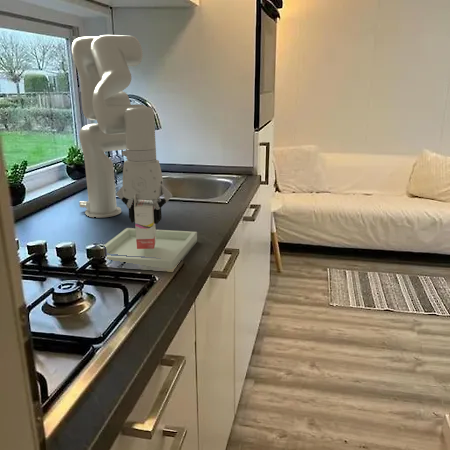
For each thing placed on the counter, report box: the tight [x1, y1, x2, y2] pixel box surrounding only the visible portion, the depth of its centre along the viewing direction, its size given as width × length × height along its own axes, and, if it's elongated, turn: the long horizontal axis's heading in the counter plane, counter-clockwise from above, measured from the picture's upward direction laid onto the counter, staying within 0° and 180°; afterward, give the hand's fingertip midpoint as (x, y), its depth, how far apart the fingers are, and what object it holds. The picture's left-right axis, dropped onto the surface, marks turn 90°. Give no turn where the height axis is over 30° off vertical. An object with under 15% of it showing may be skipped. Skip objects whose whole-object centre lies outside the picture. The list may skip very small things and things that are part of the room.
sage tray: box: [103, 227, 198, 269], centre depth 132 cm, size 22×24×3 cm
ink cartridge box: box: [134, 194, 157, 249], centre depth 130 cm, size 9×5×15 cm, turn 5°
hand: (145, 221), depth 130 cm, fingers closed on ink cartridge box, 5 cm apart
